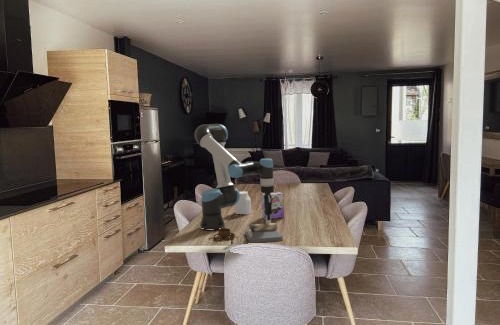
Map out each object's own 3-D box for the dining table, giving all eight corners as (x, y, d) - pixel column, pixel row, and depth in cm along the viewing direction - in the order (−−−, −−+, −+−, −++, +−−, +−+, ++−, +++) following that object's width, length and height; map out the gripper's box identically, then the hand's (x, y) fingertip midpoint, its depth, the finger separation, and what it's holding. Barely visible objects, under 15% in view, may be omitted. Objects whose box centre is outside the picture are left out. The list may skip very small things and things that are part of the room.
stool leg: (250, 231, 213) (249, 225, 213) (249, 229, 217) (249, 224, 216) (276, 229, 215) (276, 223, 215) (275, 227, 219) (275, 222, 218)
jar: (251, 211, 271) (250, 191, 269) (250, 214, 262) (249, 193, 260) (235, 211, 272) (235, 191, 270) (234, 215, 262) (233, 194, 261)
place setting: (242, 235, 216) (241, 225, 215) (235, 246, 196) (234, 235, 196) (212, 235, 219) (212, 225, 218) (202, 246, 199) (202, 235, 199)
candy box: (264, 219, 247) (263, 195, 245) (261, 217, 253) (261, 193, 251) (284, 217, 250) (283, 193, 249) (281, 215, 256) (280, 191, 254)
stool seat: (249, 242, 200) (248, 233, 200) (245, 233, 217) (244, 225, 216) (282, 240, 203) (281, 231, 202) (275, 231, 219) (275, 223, 219)
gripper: (275, 186, 211) (277, 227, 214) (271, 183, 224) (272, 221, 226) (262, 187, 210) (264, 228, 212) (258, 184, 223) (260, 222, 225)
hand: (268, 225), depth 219 cm, fingers closed
